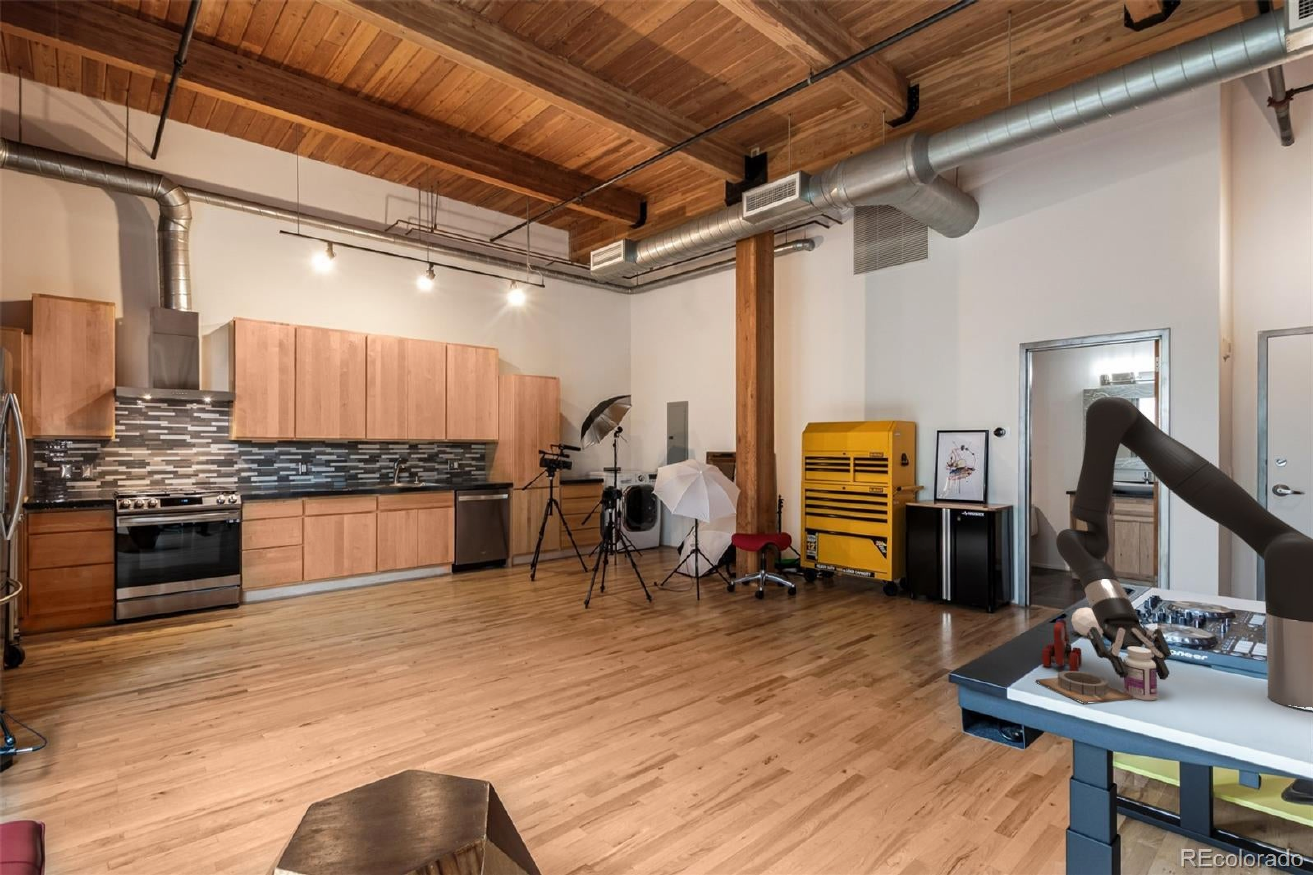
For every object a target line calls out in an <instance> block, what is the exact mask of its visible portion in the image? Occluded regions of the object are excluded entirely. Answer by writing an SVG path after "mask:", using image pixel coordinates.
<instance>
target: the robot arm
mask: <svg viewBox="0 0 1313 875" xmlns="http://www.w3.org/2000/svg"><path fill="white" fill-rule="evenodd" d="M1084 443H1085V444H1084V453H1083V460H1082V465H1081V469H1080V473H1079V477H1078V481H1077V485H1076V490H1075V495H1074V497H1073V498H1074V500H1073V504H1072V508H1071V515H1072V517H1073V518H1074V519H1076V520H1078V521H1080V522H1081V521H1082V522H1084V523H1085V524H1086V527H1087V529H1086V530H1084V529H1083V530H1082V529H1074V528H1065V529H1062V530H1061V531H1060V532H1059V533H1058V535H1057V536H1056V539H1055V545H1056V549H1057V551H1058V553H1059V555H1060V557H1061V558H1062V559H1063V561H1064V562H1065V563H1066V564H1067V565H1068V566H1069V568H1070V569H1071V570H1072V571H1073V573H1075V575H1076V576H1077V577H1078V579H1079V581H1080V583H1081V586H1082V588H1083V590H1084V592H1085V596H1086V599H1087V602H1088V605H1089V608H1091V609H1092V611H1093V613H1094V616H1095V618H1096V620H1097V622H1098V625H1099V627H1100V628H1101V629H1097V628H1096V627H1091V629H1090V630H1089V631H1088V633H1087V635H1088V640H1089V642H1090V644H1091V645H1092V647H1093V650H1094V652H1095V654H1096V655H1097V657H1098V658H1100V659H1103V658H1104V659H1107V660H1108V661H1109V662H1110V663H1111V665H1112V668H1113V669H1114V670H1113V671H1114V673H1115V674H1116V675H1118V676H1119V677H1120V678H1121V679H1124V678H1126V676H1127V675H1128V671H1127V669H1126V667H1125V665H1124V663H1123V662H1124V659H1123V658H1122V657H1121V656H1119V655H1120V651H1126V650H1127V647H1131V646H1135V647H1142V648H1147V649H1149V650H1151V653H1152V657H1151V658H1150V659H1151V660H1152V661H1154V662H1155V664H1156V674H1157V676H1158V678H1159V680H1161V681H1165V680H1167V679H1168V678H1169V675H1170V671H1169V668H1168V666H1167V664H1166V662H1165V661H1166V660H1168V658H1169V657H1170V656H1172V652H1171V649H1170V648H1169V645H1168V642H1167V641H1166V638H1165V636H1164V634H1163V632H1162V630H1161V629H1160V628H1155V629H1154V630H1146V629H1145V628H1144V627H1143V626H1142V625H1141V622H1140V618H1139V616H1138V614H1137V612H1136V610H1135V608H1134V606H1133V604H1132V602H1131V600H1130V598H1129V595H1128V593H1127V592H1126V590H1125V589H1124V588H1123V586H1122V585H1121V583H1120V580H1119V579H1118V577H1117V575H1116V574H1115V571H1114V568H1113V567H1112V566H1111V565H1110V564H1109V563H1108V562H1106V561H1104V560H1103V559H1105V557H1106V556H1107V555H1108V553H1109V549H1110V538H1109V529H1108V528H1109V527H1108V513H1109V509H1110V506H1111V501H1112V496H1113V491H1114V478H1115V467H1116V465H1115V464H1116V459H1117V454H1118V451H1119V448H1120V446H1121V445H1122V446H1124V447H1125V448H1127V449H1128V450H1129V451H1131V452H1132V453H1133V454H1135V455H1136V456H1137V457H1138V458H1139V459H1140V460H1141V461H1142V462H1143V464H1144V465H1145V466H1146V467H1147V468H1148V470H1150V472H1152V474H1153V475H1154V476H1155V477H1156V478H1157V479H1158V480H1159V481H1160V482H1161V483H1162V484H1163V485H1164V486H1165V487H1166V488H1167V489H1168V490H1170V491H1171V492H1173V494H1175V495H1176V496H1177V497H1178V498H1179V499H1181V500H1182V501H1183V502H1184V503H1186V504H1188V505H1189V506H1190V507H1191V508H1193V509H1195V511H1197V512H1199V513H1201V514H1202V515H1204V516H1205V517H1207V518H1209V519H1211V520H1212V521H1214V522H1216V523H1217V524H1219V525H1221V526H1223V527H1224V528H1226V529H1227V530H1229V531H1231V532H1232V533H1234V534H1235V535H1237V537H1238V538H1240V539H1241V540H1242V541H1243V542H1244V543H1246V544H1247V545H1248V546H1249V547H1250V548H1251V549H1252V550H1253V551H1254V552H1255V553H1256V554H1258V555H1259V557H1260V558H1262V559H1263V561H1264V604H1265V627H1266V628H1265V629H1266V632H1265V633H1266V634H1265V636H1266V670H1267V671H1266V672H1267V675H1266V676H1267V698H1269V699H1270V700H1271V701H1273V702H1276V703H1278V704H1279V705H1280V704H1281V705H1283V706H1286V705H1291V706H1297V707H1304V708H1306V707H1312V708H1313V538H1312V537H1310V536H1308V535H1306V534H1304V533H1303V532H1301V531H1299V530H1297V529H1296V528H1294V527H1293V526H1291V525H1290V524H1288V523H1287V522H1285V521H1283V520H1282V519H1280V518H1278V517H1277V516H1275V515H1274V514H1272V513H1271V512H1270V511H1269V510H1267V509H1266V508H1264V506H1262V505H1261V503H1259V502H1258V501H1257V500H1256V499H1255V498H1254V497H1253V496H1252V495H1251V494H1250V493H1249V492H1247V491H1246V489H1244V488H1243V487H1242V486H1241V485H1240V484H1238V483H1237V482H1236V481H1235V480H1234V479H1232V478H1231V477H1230V476H1229V475H1228V474H1226V473H1225V472H1224V471H1223V470H1221V469H1220V468H1218V467H1217V466H1216V465H1215V464H1213V463H1212V462H1210V461H1209V460H1207V459H1206V458H1204V457H1203V456H1201V455H1200V454H1199V453H1197V452H1196V451H1194V450H1193V449H1191V448H1189V447H1188V446H1187V445H1185V444H1183V443H1181V442H1180V441H1178V440H1177V439H1176V438H1173V437H1171V436H1170V435H1169V434H1167V433H1166V432H1164V431H1163V430H1162V429H1161V428H1160V427H1158V426H1157V425H1156V424H1155V423H1154V422H1153V421H1151V420H1150V419H1149V418H1148V417H1147V416H1146V415H1145V414H1144V413H1143V412H1141V410H1140V409H1139V408H1137V407H1136V405H1134V404H1133V403H1132V402H1131V401H1129V400H1128V399H1126V398H1123V397H1117V396H1104V397H1100V398H1098V399H1096V400H1095V401H1093V402H1092V403H1091V404H1090V405H1089V406H1088V408H1087V410H1086V412H1085V441H1084ZM1103 637H1104V638H1105V639H1106V640H1107V641H1109V642H1110V644H1109V647H1108V648H1107V646H1106V644H1105V642H1104V640H1103ZM1143 645H1144V647H1143Z"/></svg>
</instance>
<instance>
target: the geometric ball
mask: <svg viewBox="0 0 1313 875" xmlns="http://www.w3.org/2000/svg"><path fill="white" fill-rule="evenodd" d="M1071 624H1072V627H1073V629H1074V630H1075V631H1076V632H1077V633H1078V634H1080V636H1081V635H1082V636H1083V637H1087V636H1088V635H1087V633H1088V631H1089V630H1090V629H1091V627H1096V628H1097V629H1101V628H1100V627H1099V625H1098V622H1097V620H1096V618H1095V616H1094V613H1093V611H1092V609H1091V607H1080V608H1077V609H1076V610H1075V611H1074V612H1073V613H1072V616H1071Z"/></svg>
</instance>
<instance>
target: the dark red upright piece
mask: <svg viewBox="0 0 1313 875" xmlns="http://www.w3.org/2000/svg"><path fill="white" fill-rule="evenodd" d="M1052 630H1053V643H1054V644H1053V643H1049V642H1048V643H1046V648H1043V649H1042V653H1041V654H1042V655H1041V658H1042V659H1041V660H1042V662H1041V663H1042V666H1044V667H1048V668H1051V667H1052V664H1053V663H1052V662H1055V665H1058V666H1065V664H1068V665H1069V671H1079V667H1081V666H1082V660H1083V657H1082V656H1083V655H1082V648H1080V647H1075V646H1074V647H1072V645H1071V644H1069V643H1070V641H1071V639H1070V636H1069V634H1068V629H1067V622H1066V620H1065V619H1063V618H1057V619H1056V621H1055V624H1054V625H1053V629H1052Z"/></svg>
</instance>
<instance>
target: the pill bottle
mask: <svg viewBox="0 0 1313 875" xmlns="http://www.w3.org/2000/svg"><path fill="white" fill-rule="evenodd" d="M1142 647H1143V646H1142ZM1142 647H1135V646H1131V647H1127V649H1126V654H1127V656H1126V657H1124V659H1123V663H1124V665H1125V667H1126V669H1127V671H1128V675H1127V676H1126V678H1123V683H1124V688H1123V689H1124V693H1127V694H1129V695H1131V696H1133V699H1135V700H1136V699H1137V700H1141V701H1154V700H1156V699H1158V678H1157V676H1158V674H1157V672H1156V664H1155V662H1154V661H1152V660H1151V659H1150V658H1151V657H1152V653H1151V650H1149V649H1147V648H1145V647H1143V648H1142Z"/></svg>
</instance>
